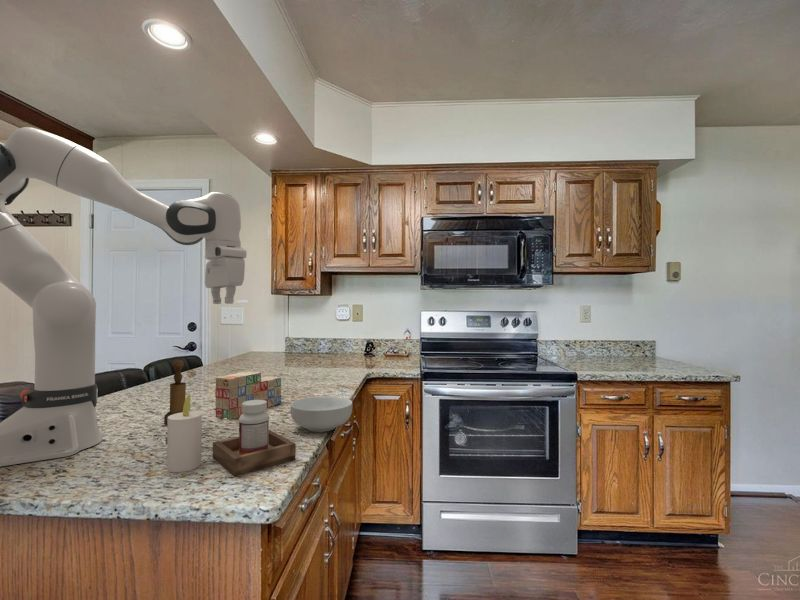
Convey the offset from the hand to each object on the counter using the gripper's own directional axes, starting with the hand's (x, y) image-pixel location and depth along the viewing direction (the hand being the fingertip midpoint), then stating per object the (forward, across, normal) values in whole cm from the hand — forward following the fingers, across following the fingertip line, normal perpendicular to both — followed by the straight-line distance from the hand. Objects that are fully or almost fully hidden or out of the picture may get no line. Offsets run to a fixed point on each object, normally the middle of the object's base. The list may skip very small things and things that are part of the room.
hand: (222, 303), depth 108 cm
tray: (+34, +26, -2) cm, 43 cm away
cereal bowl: (+34, +17, +21) cm, 44 cm away
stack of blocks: (+34, -15, +14) cm, 40 cm away
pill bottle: (+33, +26, -2) cm, 42 cm away
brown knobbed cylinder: (+34, -16, -7) cm, 39 cm away
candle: (+34, +20, -14) cm, 42 cm away
